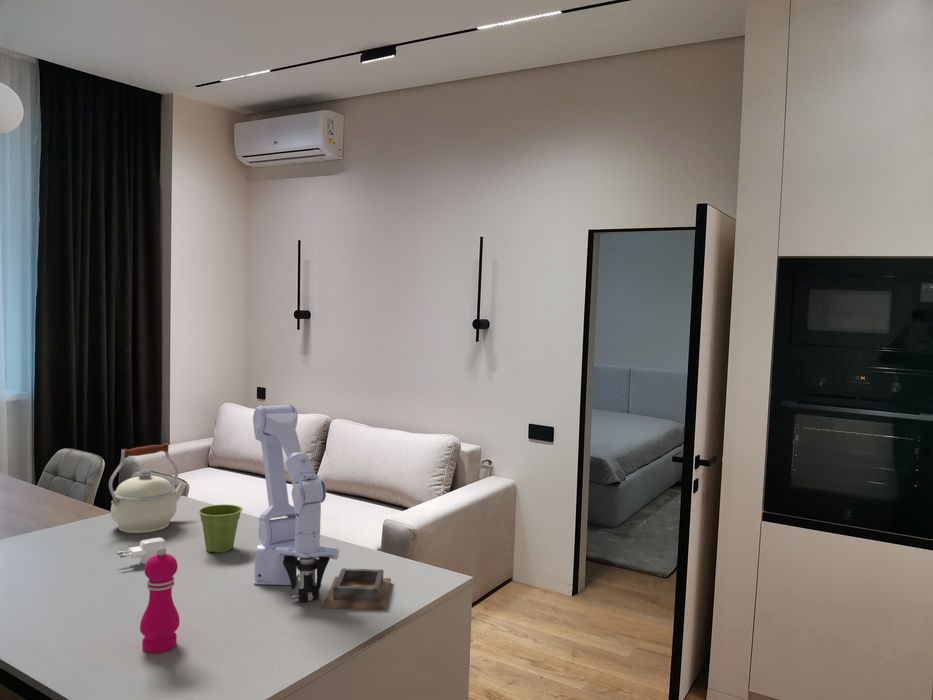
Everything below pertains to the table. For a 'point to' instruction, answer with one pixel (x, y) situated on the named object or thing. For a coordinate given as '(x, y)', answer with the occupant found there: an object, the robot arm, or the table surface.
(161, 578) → the pepper mill
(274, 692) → the table surface
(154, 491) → the kettle
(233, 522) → the plant pot
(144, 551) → the power adapter
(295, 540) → the robot arm
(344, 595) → the socket board
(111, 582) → the table surface
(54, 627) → the table surface
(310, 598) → the push button
